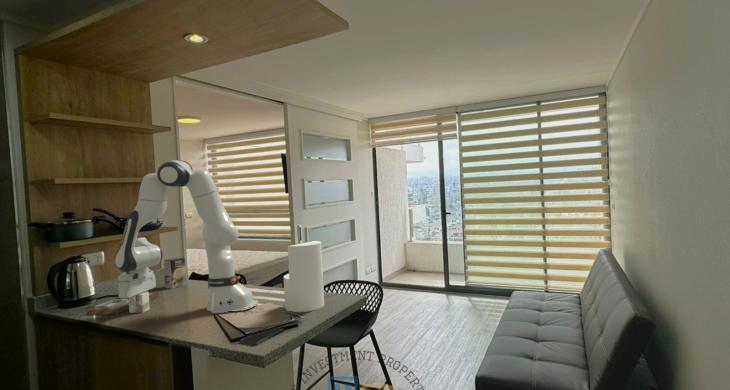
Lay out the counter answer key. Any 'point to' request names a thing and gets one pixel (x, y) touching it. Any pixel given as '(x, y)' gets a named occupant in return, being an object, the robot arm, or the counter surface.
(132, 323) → the counter surface
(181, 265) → the coffee box
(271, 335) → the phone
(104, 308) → the cream box on board
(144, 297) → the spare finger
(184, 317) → the counter surface
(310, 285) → the cylinder
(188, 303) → the counter surface
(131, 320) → the counter surface
